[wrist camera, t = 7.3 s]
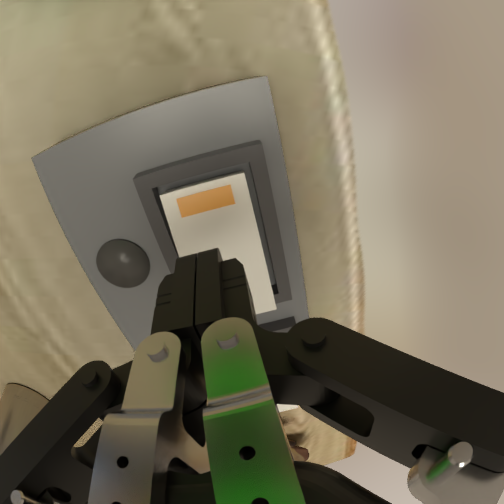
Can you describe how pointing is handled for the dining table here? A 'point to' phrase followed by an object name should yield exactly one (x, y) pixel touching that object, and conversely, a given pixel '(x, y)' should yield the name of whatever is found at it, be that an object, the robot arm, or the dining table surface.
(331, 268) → the dining table surface
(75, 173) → the rocker switch panel
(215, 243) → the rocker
